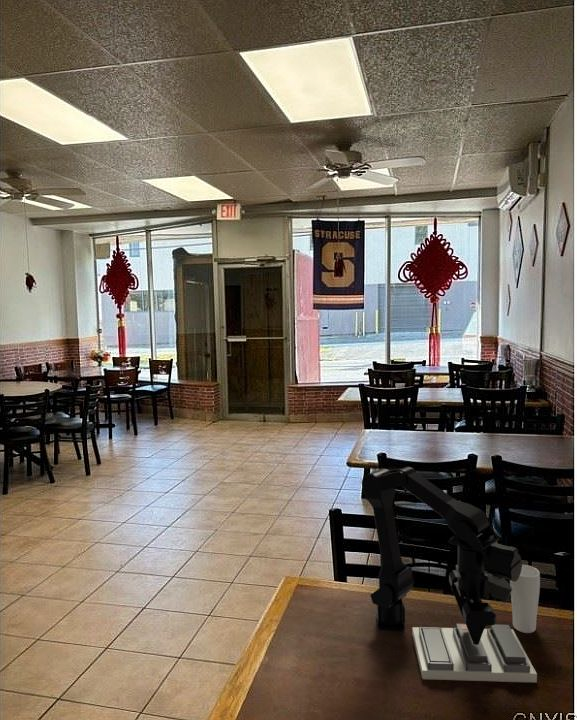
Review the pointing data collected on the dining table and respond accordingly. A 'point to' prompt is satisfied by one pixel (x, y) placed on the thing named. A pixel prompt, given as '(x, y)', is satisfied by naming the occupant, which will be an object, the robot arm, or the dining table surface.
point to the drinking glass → (525, 599)
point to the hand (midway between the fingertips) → (470, 631)
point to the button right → (508, 644)
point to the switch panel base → (470, 670)
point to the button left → (435, 645)
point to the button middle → (471, 646)
